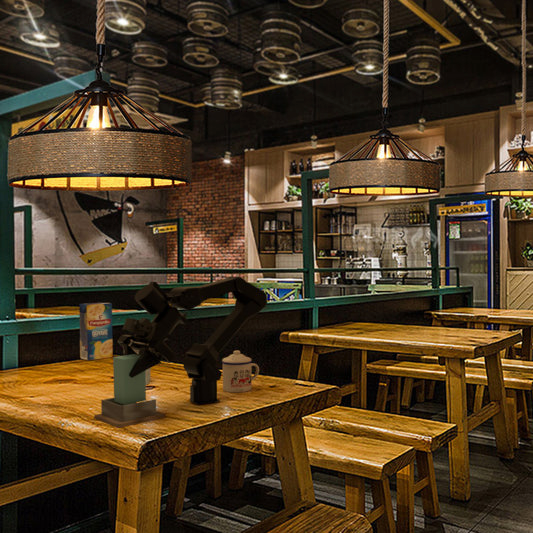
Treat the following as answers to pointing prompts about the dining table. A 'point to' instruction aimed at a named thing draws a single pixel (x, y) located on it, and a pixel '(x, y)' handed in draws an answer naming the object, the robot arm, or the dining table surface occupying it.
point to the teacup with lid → (238, 373)
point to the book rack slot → (128, 412)
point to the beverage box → (95, 331)
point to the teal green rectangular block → (128, 381)
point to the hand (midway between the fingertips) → (124, 375)
